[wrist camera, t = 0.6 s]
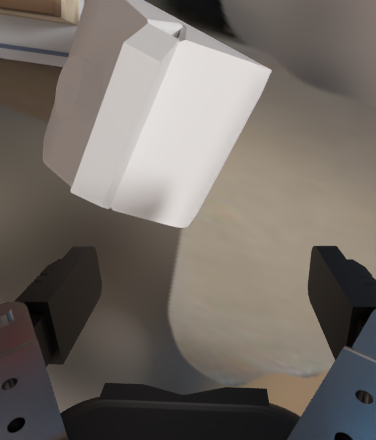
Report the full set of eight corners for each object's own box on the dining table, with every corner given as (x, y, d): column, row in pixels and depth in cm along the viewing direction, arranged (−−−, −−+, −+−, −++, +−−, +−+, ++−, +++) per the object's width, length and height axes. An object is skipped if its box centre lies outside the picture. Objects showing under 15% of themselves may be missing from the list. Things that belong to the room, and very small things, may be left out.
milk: (203, 175, 39) (182, 314, 15) (113, 130, 38) (-67, 201, 14) (255, 74, 35) (344, 40, 10) (155, 21, 33) (-1, -156, 9)
